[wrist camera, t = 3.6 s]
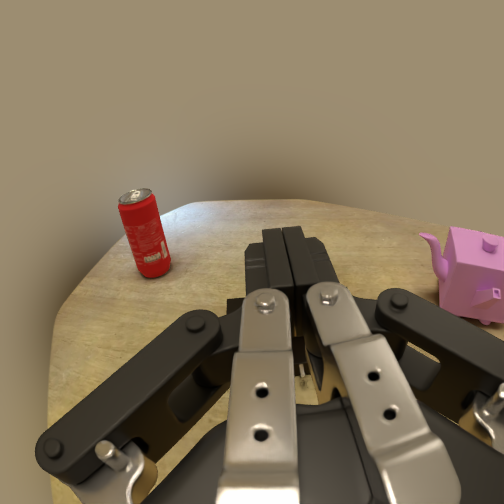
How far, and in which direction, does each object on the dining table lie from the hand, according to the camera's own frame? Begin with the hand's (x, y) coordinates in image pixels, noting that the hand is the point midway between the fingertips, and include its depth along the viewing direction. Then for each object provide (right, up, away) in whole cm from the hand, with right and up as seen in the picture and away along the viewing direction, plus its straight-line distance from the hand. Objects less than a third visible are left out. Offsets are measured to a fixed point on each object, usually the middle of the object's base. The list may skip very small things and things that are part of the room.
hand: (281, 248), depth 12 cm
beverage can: (-15, -3, +33) cm, 37 cm away
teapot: (+26, -7, +20) cm, 34 cm away
